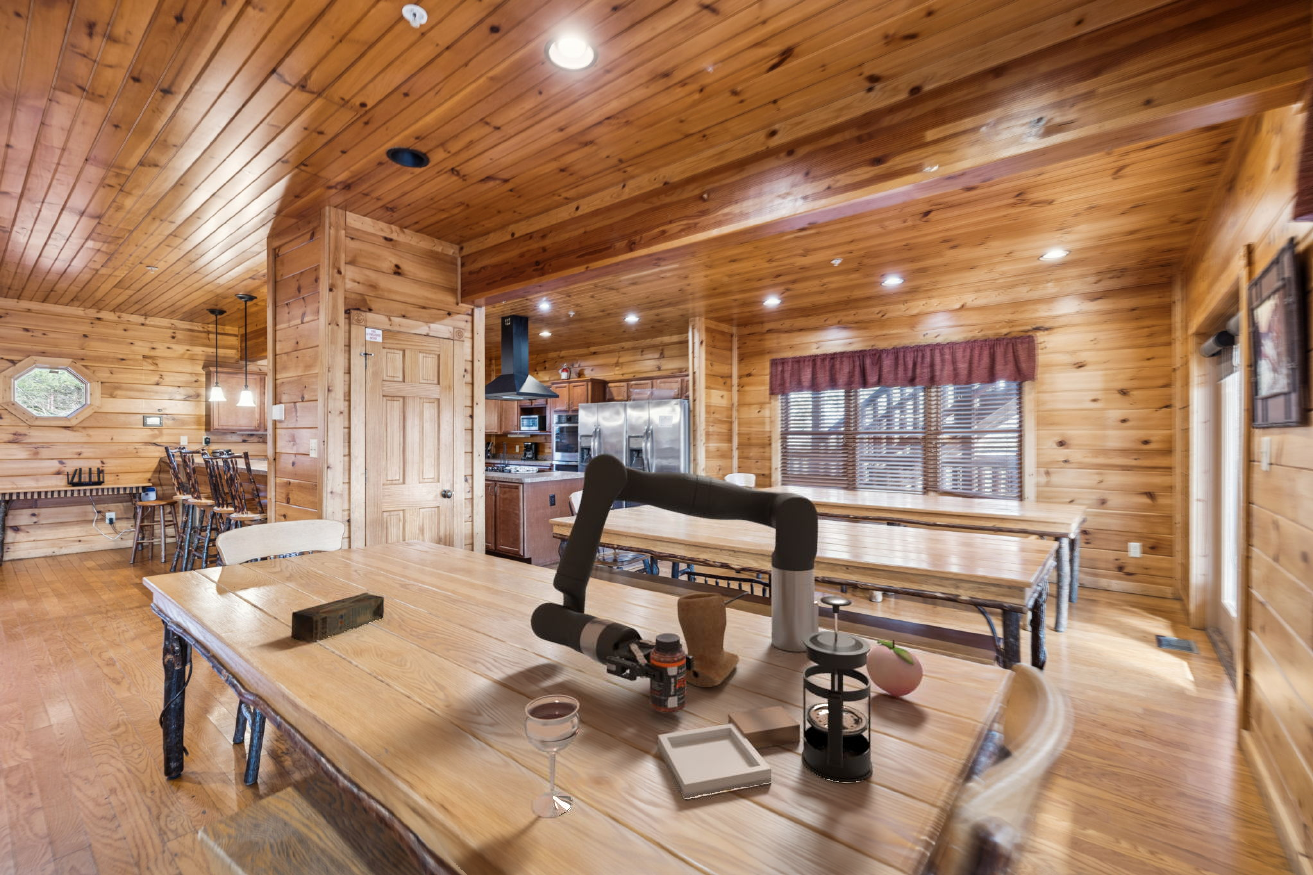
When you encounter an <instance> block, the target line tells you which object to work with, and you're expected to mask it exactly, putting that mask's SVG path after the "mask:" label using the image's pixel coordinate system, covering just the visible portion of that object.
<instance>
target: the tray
mask: <svg viewBox="0 0 1313 875" xmlns="http://www.w3.org/2000/svg"><path fill="white" fill-rule="evenodd" d="M657 749H658V752H659V753H660V755H661V758H662V759H663V761H664V763H665V765H666V767H667V769H668V770H670V771H669V773H670V772H671V773H670V774H672V775H671V777H672V776H673V777H672V779H673V778H674V779H675V781H676V782H675V781H674V782H675V784H676V783H677V784H676V786H677V785H678V786H677V788H678V787H679V788H678V790H679V789H680V790H679V792H680V791H681V792H682V794H683V796H684V798H690V797H695V796H698V795H703V794H710V793H711V794H712V793H715V792H720V791H724V790H731V789H734V788H741V787H750V786H754V785H761V784H763V783H769V782H771V783H772V767H771V766H770V765H769V764H768V763H767V761H766V760H765V759H764V757H763V756H761V754H760V753H759V752H758V751H757V750H756V749H755V748H754V747H753V746H752V745H751V744H750V742H749V741H748V740H747V739H746V738H745V736H744V735H743V734H742V733H741V732H740V730H739V729H738V728H737V727H736V725H735V724H734V723H732V724H728V723H727V724H726V723H725V724H719V725H715V726H707V727H701V728H695V729H694V728H693V729H688V730H681V731H675V732H668V733H663V734H662V733H661V734H658V735H657ZM674 779H673V780H674ZM681 792H680V793H681ZM682 794H681V795H682ZM683 796H682V797H683ZM684 798H683V799H684Z"/></svg>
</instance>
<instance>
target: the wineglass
mask: <svg viewBox="0 0 1313 875" xmlns="http://www.w3.org/2000/svg"><path fill="white" fill-rule="evenodd" d="M579 708H580V703H579V701H578V699H576V698H574V697H573V696H570V695H565V694H549V695H544V696H540V697H537V698H535V699H533V700H532V701H530V702H528V703H527V704H526V706H525V709H524V711H525V714H526V718H525V723H524V733H525V736H526V738H527V741H528V743H530V744H531V745H532V746H533V747H534V748H535V749H537V750H538V752H539V751H540V752H542V753H546V754H547V755H548V757H549V782H550V784H549V785H550V791H548V792H544V793H542V794H540V795H538V796H537V797H536V798H534V800H533V802H532V804H531V805H532V806H531V809H532V812H533V813H534V814H535V815H537V816H538V817H542V818H556V817H559V815H560V816H561V813H564V812H566V813H567V812H568V811H569V810H570V809H571V808H570V806H571V802H572V801H573V799H572V800H571V798H572V796H571V795H570V794H569V793H566V792H564V791H561V790H555V781H556V780H555V778H556V754H558V753H559V752H560V751H562V750H564V749H566V748H567V747H568V746H569V745H570V744H571V743H572V742H573V741H574V740H575V738H576V737H577V735H578V732H579V730H580V722H581V720H580V715H579V713H578V710H579ZM569 795H570V796H569ZM572 803H573V802H572ZM571 807H572V806H571ZM569 808H570V809H569ZM568 809H569V810H568ZM567 810H568V811H567ZM564 814H565V813H564Z"/></svg>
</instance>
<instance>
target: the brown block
mask: <svg viewBox="0 0 1313 875" xmlns="http://www.w3.org/2000/svg"><path fill="white" fill-rule="evenodd" d="M727 714H728V715H727V716H728V717H727V718H728V720H727V721H728V722H727V724H732V723H734V724H735V725H736V727H737V728H738V729H739V730H740V732H741V733H742V734H743V735H744V736H745V738H746V739H747V740H748V741H749V742H750V744H751V745H752V746H753V747H754V748H755V750H756V748H758V749H762V748H761V747H764V748H767V747H766V746H769V747H773V746H772V745H775V746H780V744H781V745H785V744H793V743H798V742H801V724H800V723H799V722H798V721H797V720H796V719H795V718H794V717H793V716H792V715H791V714H790V713H788V712H787V711H786V709H784V708H783V707H782V706H781V705H779V706H777V705H776V706H770V707H765V708H764V707H763V708H758V709H751V710H743V711H738V712H736V711H735V712H732V713H727ZM792 742H793V743H792ZM770 745H771V746H770ZM759 747H760V748H759Z"/></svg>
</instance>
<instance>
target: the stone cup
mask: <svg viewBox="0 0 1313 875" xmlns="http://www.w3.org/2000/svg"><path fill="white" fill-rule="evenodd" d="M676 605H677V608H676V609H677V618H678V622H679V623H678V624H679V625H680V629H681V631H682V635H683V638H684V641H685V644H686V649H687V655H690V656H692V657H693V658H694V668H693V669H692V670H687V669H686V682H688V683H689V684H692V685H694V686H697V687H702V688H708V687H709V688H710V687H715V686H718V685H720V684H721V683H722V682H723V681H724V680H725V679H726V678H727V677H728V676H729V674H730V673H731V672H732V671H733V670H734V669H735V668H736V667H737V665H738V663H739V662H740V656H739V655H738V654H735V653H732V652H729V651H726V650H725V649H724V641H725V640H724V639H725V634H726V630H727V629H726V627H727V621H728V620H727V610H726V601H725V600H724V596H722V594H720V593H717V592H696V593H688V594H685V595H682V596H680V597H679V598H678V600H677V604H676Z"/></svg>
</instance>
